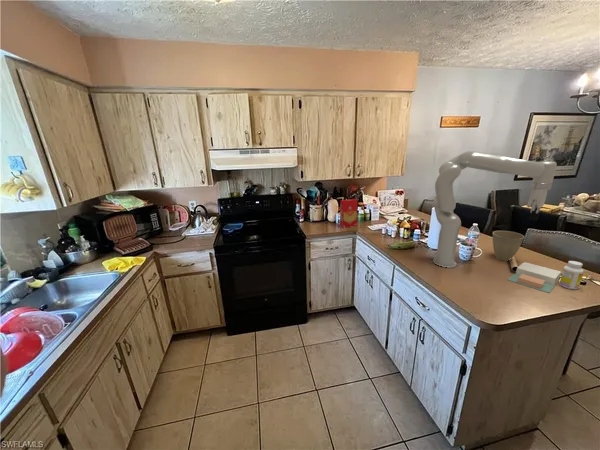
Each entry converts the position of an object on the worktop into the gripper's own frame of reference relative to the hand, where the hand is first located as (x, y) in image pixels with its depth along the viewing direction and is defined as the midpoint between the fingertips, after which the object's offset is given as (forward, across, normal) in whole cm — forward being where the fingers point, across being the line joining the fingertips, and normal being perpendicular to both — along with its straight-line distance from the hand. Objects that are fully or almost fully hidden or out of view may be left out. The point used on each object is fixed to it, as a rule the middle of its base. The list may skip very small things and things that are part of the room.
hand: (532, 219), depth 134 cm
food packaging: (+29, +14, -123) cm, 127 cm away
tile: (+26, +17, +8) cm, 32 cm away
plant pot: (+29, -8, -11) cm, 32 cm away
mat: (+29, +16, +8) cm, 34 cm away
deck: (+29, +5, +8) cm, 31 cm away
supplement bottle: (+29, +6, +20) cm, 36 cm away
